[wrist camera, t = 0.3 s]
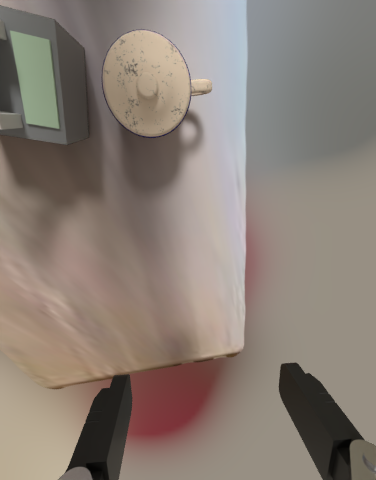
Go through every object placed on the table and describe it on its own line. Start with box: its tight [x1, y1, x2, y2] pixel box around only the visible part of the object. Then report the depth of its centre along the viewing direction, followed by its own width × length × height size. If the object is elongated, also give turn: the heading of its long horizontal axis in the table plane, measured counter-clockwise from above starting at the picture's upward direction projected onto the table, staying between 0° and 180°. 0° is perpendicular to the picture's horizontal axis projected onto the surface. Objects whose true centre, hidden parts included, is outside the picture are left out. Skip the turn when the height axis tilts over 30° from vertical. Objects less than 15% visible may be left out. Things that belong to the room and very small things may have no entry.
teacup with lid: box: [102, 30, 212, 138], centre depth 24 cm, size 12×9×12 cm
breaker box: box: [0, 5, 89, 145], centre depth 22 cm, size 12×10×13 cm
